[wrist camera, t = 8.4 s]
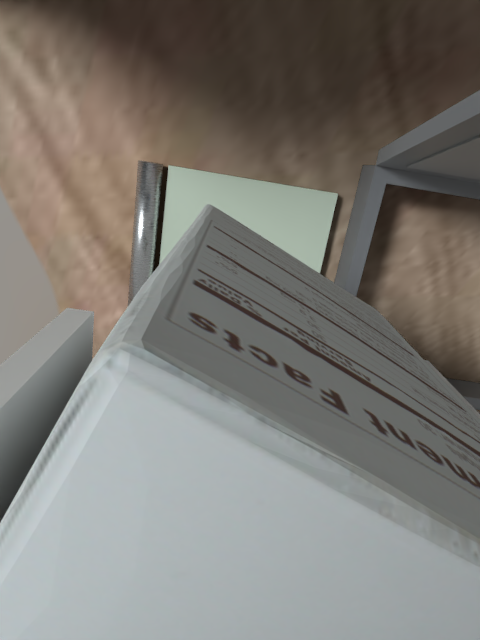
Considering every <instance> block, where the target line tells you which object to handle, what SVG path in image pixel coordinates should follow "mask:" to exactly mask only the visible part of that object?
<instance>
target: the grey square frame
mask: <svg viewBox="0 0 480 640" xmlns="http://www.w3.org/2000/svg"><path fill="white" fill-rule="evenodd" d="M386 184H391V185H396V186H402V187H408V188H414V189H420V190H426V191H432V192H438V193H443V194H449V195H455V196H461V197H467V198H473V199H479V200H480V183H475V182H469V181H463V180H457V179H452V178H446V177H440V176H434V175H428V174H423V173H417V172H411V171H405V170H399V169H394V168H388V167H382V166H376V165H363V167H362V171H361V175H360V179H359V183H358V187H357V192H356V196H355V200H354V204H353V208H352V212H351V216H350V220H349V224H348V228H347V233H346V237H345V241H344V245H343V249H342V253H341V257H340V261H339V265H338V270H337V274H336V278H335V282H334V283H335V284H337V285H338V286H340V287H341V288H343V289H344V290H346V291H347V292H349V293H351V294H352V295H354V296H355V297H356V296H357V292H358V288H359V284H360V280H361V277H362V273H363V269H364V265H365V262H366V258H367V254H368V250H369V247H370V243H371V239H372V235H373V231H374V228H375V224H376V220H377V216H378V213H379V209H380V205H381V201H382V198H383V194H384V190H385V186H386ZM446 379H447V381H448V382H449V383H450V384H451V385H452V386H453V387H454V388H455V389H456V390H457V391H458V392H459V393H460V394H461V395H462V396H463V397H464V398H465V399H466V400H467V401H468V402H469V403H470V404H471V405H472V406H473V407H474V409H477V410H480V383H476V382H469V381H462V380H455V379H448V378H446Z"/></svg>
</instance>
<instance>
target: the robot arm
mask: <svg viewBox="0 0 480 640" xmlns="http://www.w3.org/2000/svg"><path fill="white" fill-rule="evenodd" d="M93 323H94V312H92V311H85V310H78V309H72V308H66V309H65V310H64V311H63V312H62V313H60V314H59V315H58V316H57V317H56V318H55V319H54V320H52V321H51V322H50V323H49V324H48V325H46V326H45V327H44V328H43V329H42V330H41V331H39V332H38V333H37V334H36V335H35V336H33V337H32V338H31V339H30V340H29V341H28V342H26V343H25V344H24V345H23V346H22V347H21V348H19V349H18V350H17V351H16V352H15V353H13V354H12V355H11V356H10V357H9V358H8V359H6V360H5V361H4V362H3V363H2V364H1V365H0V522H1V520H2V519H3V517H4V515H5V513H6V512H7V510H8V508H9V506H10V504H11V503H12V501H13V499H14V497H15V496H16V494H17V492H18V490H19V489H20V487H21V485H22V483H23V481H24V480H25V478H26V476H27V474H28V473H29V471H30V469H31V467H32V465H33V464H34V462H35V460H36V458H37V457H38V455H39V453H40V451H41V449H42V448H43V446H44V444H45V442H46V441H47V439H48V437H49V435H50V433H51V432H52V430H53V428H54V426H55V424H56V423H57V421H58V419H59V417H60V416H61V414H62V412H63V410H64V408H65V407H66V405H67V403H68V401H69V400H70V398H71V396H72V394H73V392H74V391H75V389H76V387H77V385H78V384H79V382H80V380H81V378H82V377H83V375H84V373H85V371H86V370H87V368H88V366H89V364H90V363H91V361H92V345H93ZM424 361H425V362H426V363H427V364H428V365H429V366H430V367H431V368H432V369H433V370H434V371H435V372H436V373H437V374H438V376H439V377H440V378H441V379H442V380H443V381H444V382H445V383H446V384H447V385H448V386H449V387H450V388H451V389H452V390H453V391H454V392H455V393H456V394H457V396H458V397H459V398H460V399H461V400H462V401H463V402H464V403H465V404H466V405H467V406H468V407H469V408H470V409H471V410H472V411H473V412H474V414H475V415H476V416H477V417H478V418H479V419H480V414H479V413H478V412H477V411H476V410H475V409H474V407H473V406H472V405H471V404H470V403H469V402H468V401H467V400H466V399H465V398H464V397H463V396H462V395H461V394H460V393H459V392H458V391H457V390H456V389H455V388H454V387H453V386H452V385H451V384H450V383H449V382H448V381H447V379H446V378H445V377H444V376H443V375H442V374H441V373H440V372H439V371H438V370H437V369H436V368H435V367H434V366H433V365H432V364H431V363H430V362H429V361H428V360H424Z"/></svg>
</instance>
